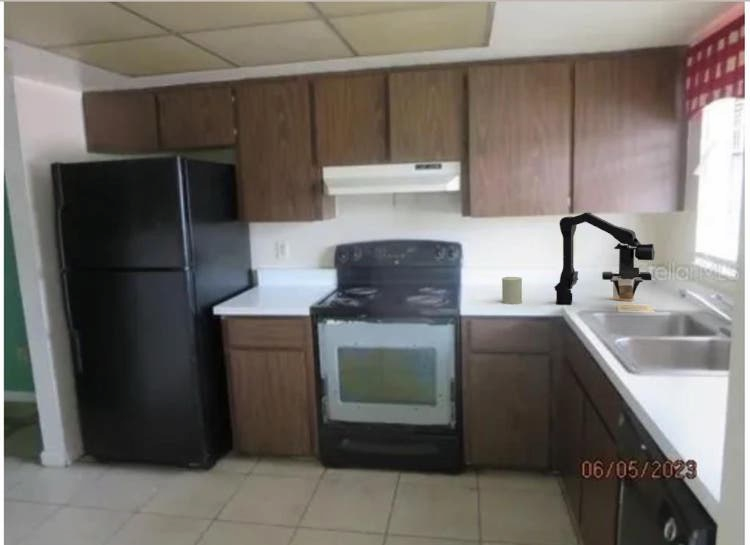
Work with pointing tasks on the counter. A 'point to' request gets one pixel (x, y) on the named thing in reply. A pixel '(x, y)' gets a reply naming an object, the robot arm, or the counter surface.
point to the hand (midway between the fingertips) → (625, 295)
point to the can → (511, 290)
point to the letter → (635, 308)
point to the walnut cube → (626, 292)
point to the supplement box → (620, 282)
